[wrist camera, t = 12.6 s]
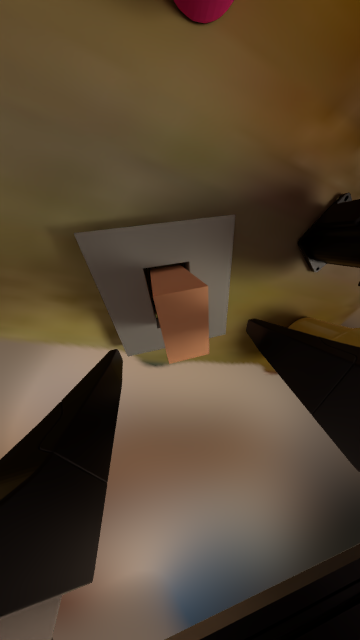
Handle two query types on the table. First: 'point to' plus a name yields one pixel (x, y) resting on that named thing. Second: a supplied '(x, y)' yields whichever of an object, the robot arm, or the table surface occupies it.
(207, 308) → the keyed peg
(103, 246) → the socket block
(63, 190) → the table surface
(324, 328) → the plant pot
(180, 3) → the pink bowling pin
